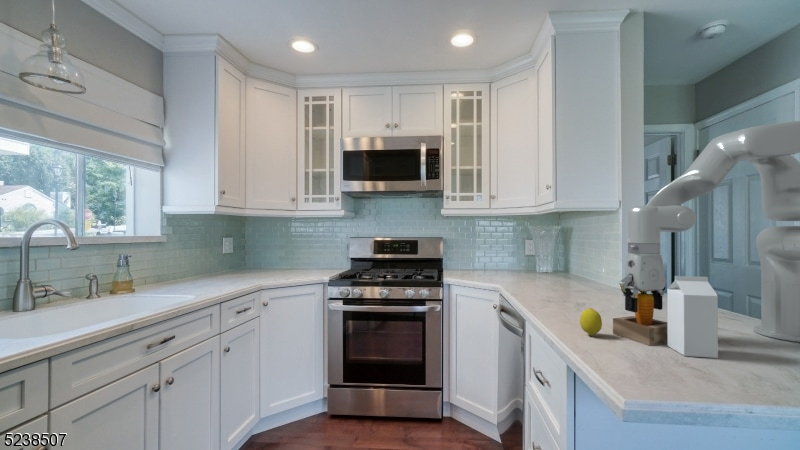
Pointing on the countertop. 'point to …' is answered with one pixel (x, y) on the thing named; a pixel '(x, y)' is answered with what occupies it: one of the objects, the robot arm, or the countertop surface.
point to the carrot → (645, 308)
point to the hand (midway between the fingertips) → (643, 309)
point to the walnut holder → (641, 330)
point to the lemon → (590, 321)
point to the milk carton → (692, 317)
